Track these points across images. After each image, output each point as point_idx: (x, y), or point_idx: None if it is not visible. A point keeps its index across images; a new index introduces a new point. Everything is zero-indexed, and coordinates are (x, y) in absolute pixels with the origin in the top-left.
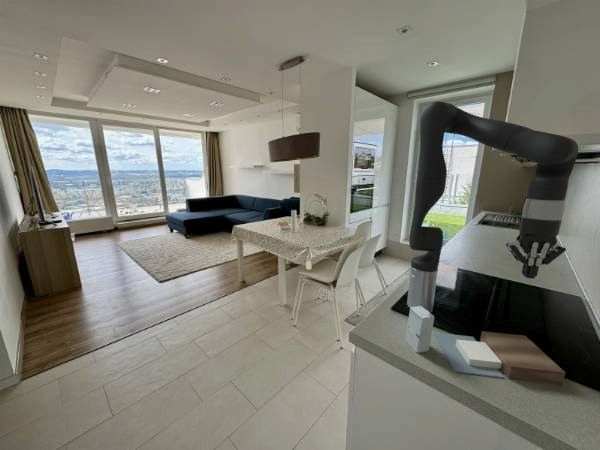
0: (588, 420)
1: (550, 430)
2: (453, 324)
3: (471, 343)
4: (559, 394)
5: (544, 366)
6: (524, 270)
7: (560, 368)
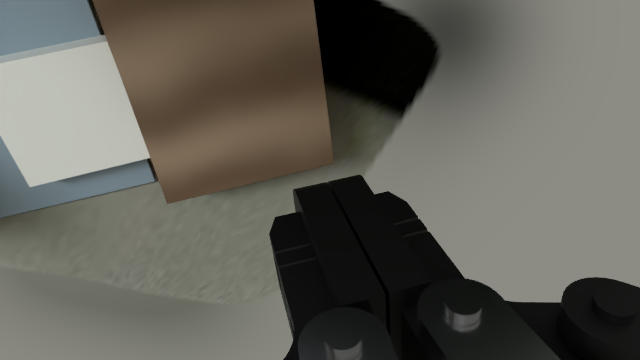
0: None
1: (215, 294)
2: None
3: (39, 77)
4: (294, 177)
5: (282, 159)
6: (284, 302)
7: (330, 146)
